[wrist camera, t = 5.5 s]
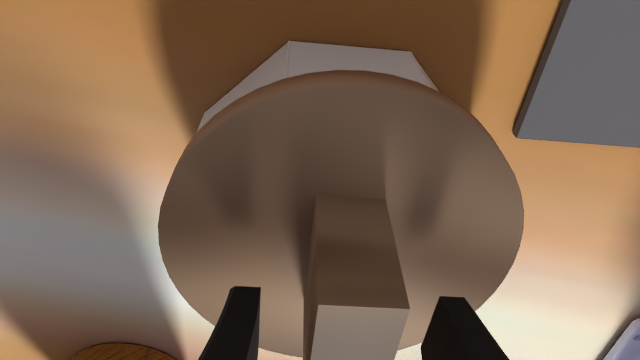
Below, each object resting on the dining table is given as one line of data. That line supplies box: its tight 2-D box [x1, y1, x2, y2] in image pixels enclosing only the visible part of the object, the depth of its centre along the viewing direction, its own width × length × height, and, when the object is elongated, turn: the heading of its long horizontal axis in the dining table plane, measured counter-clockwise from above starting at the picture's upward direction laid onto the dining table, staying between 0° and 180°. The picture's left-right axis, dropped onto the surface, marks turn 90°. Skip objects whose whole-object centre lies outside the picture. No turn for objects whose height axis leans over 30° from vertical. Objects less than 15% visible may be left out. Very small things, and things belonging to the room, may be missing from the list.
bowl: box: [196, 40, 439, 133], centre depth 15 cm, size 9×9×4 cm
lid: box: [158, 70, 524, 360], centre depth 12 cm, size 10×10×4 cm
